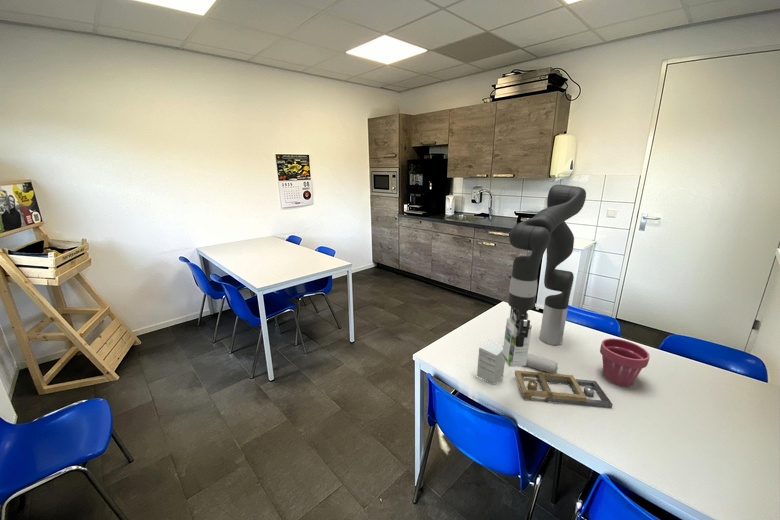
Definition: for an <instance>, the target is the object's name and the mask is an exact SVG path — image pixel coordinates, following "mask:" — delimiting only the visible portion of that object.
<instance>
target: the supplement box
mask: <svg viewBox="0 0 780 520" xmlns="http://www.w3.org/2000/svg"><path fill="white" fill-rule="evenodd" d="M502 353H503V345H502V344H499V343H497V342H494V341H493V340H489V339H488V340H487V341H485V343H483V344H482V345H480V346H479V347H478V355H477V357H478V358H477V359H478V360H477V369H476V376H478V377H477V378H479V377H480V378H479V379H481V378H482V380H483V379H484V380H483V381H485V380H486V382H487V381H488V382H487V383H489V382H490V384H491V385H493V386H495V385H496V384H497V383H498V382H499V381H500V380H501V379H502V378H503V377H504V375H505V373H504V372H505V364H506V361H505V360H504V358H503V357H502Z"/></svg>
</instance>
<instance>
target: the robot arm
mask: <svg viewBox="0 0 780 520" xmlns="http://www.w3.org/2000/svg"><path fill="white" fill-rule="evenodd" d="M586 198H587V191H586V189H585V188H583V187H582V186H581V187H580V186H575V185H566V184H553V185H552V186H551V188H549V191H548V193H547V200H546V207H545V208H543V209H541V210H540V211H538V212H537V213H536V214H535V215H533V217H532V218H528V219H525V220H523V221H521V222H519V223H517V224H515V225H514V227H512V229H511V231H510V232H509V235H508V241H509V244H510V245H511V246H512V247H513V248H515V249H519V250H525V251H530V252H531V254H530V255H527V256H526V255H524V256H523V255H521V256H516V257H515V258H514V259H513V263H512V269H511V270H512V271H511V278H510V283H509V291H508V300H507V305H508V306H509V307H510V313H509V317H512V318H514V319H515V327H516V328H517V332H516V342H515V345H516V347H523V344H524V338H527V337H528V331H529V326H530V325H531V320H530V319H529V313H528V311H531V310H533V309H534V308H535V305H536V299H537V298H536V297H537V291H538V290H537V289H538V277H539V276H538V275H539V271H540V270H539V269H540V265H541V261H542V259H543V257H544V254H545V252H546V262H545V271H544V278H543V285H544V287H545V289H548V290H550V291H554V292H555V291H556V292H560V293H557V294H553V295H552V294H551V295H547V296H545V297H544V298H545V299H544V304H543V311H542V317H541V325H540V331H539V340H540V341H541V342H543V343H545V344H547V345H550V346H551V345H553V346H557V345H558V346H559V345H561V344H562V342H563V337H564V332H565V326H566V321H567V315H568V309H569V304H570V303H569V302H570V296H571V292H572V288H573V283H574V279H575V278H574V277H575V276H574V273H573V272H572V271H569V270H563V269H558V268H557V267H558V266H559V265H560V264H562V263H563V262H565V261H566V260H567V259H568V258H569V257H570V256H571V255H572V253H573V251H574V246H575V236H574V234H573V231H572V230H571V228H570V227H569V226H568V224H567V222H566V221H567V220H569V219H571V218H573V217H574V216H575V215H577V214H578V213H580V212H581V210H583V208H584V205H585V203H586ZM517 324H520V325H519V326H518V325H517ZM522 331H523V332H522Z"/></svg>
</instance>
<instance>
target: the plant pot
mask: <svg viewBox="0 0 780 520" xmlns="http://www.w3.org/2000/svg"><path fill="white" fill-rule="evenodd" d="M599 352H600V355H601V356H602V359H601V360H602V373H603V377H604V378H605V379H606V380H608V381H609V382H610V383H613V384H615V385H618V386H622V387H630V386H633V383H635V380H636V379H637V378H638V377H639V376H638V375H640V373H641V371H642V369H644V368H646V367H648V364H649V360H650V357H651V355H650V353H649V352H648V350H646V349H645V348H644V347H642V346H640V345H638V344H636V343H633V342H631V341H628V340H625V339H621V338H605V339H603V340H602V341H601V345H600V347H599Z"/></svg>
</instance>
